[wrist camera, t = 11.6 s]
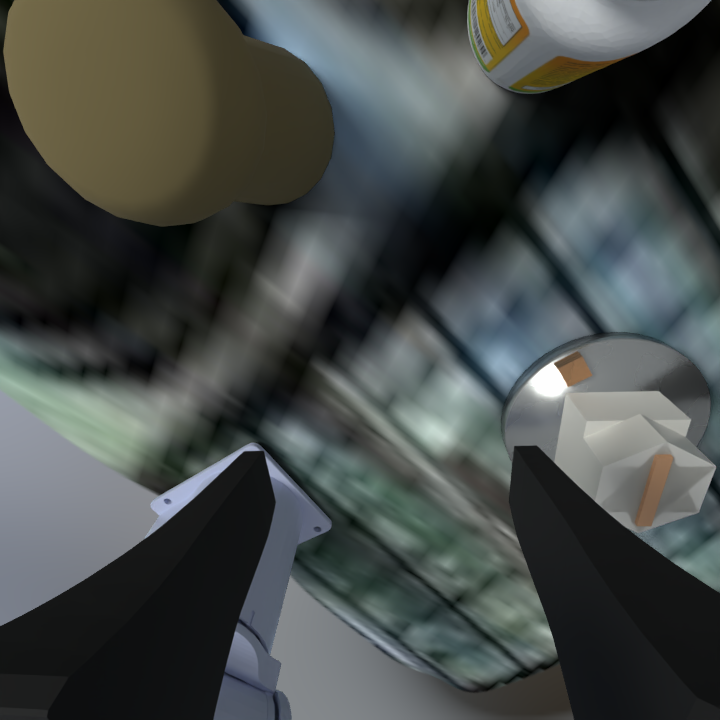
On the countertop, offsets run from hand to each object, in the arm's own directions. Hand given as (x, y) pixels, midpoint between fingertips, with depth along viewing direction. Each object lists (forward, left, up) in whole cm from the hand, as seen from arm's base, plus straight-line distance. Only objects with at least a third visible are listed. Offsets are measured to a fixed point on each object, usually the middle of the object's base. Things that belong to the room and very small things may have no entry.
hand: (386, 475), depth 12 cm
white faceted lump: (+7, -10, -9) cm, 15 cm away
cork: (+1, +11, -11) cm, 15 cm away
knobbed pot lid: (+7, -10, -10) cm, 16 cm away
